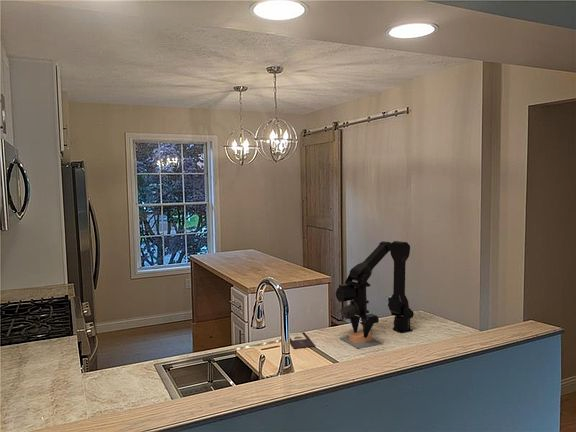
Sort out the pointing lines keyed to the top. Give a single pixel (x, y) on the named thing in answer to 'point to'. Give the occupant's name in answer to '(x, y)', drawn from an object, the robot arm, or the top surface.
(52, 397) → the top surface
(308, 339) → the chocolate bar
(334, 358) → the top surface
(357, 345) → the mat
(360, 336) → the tile
